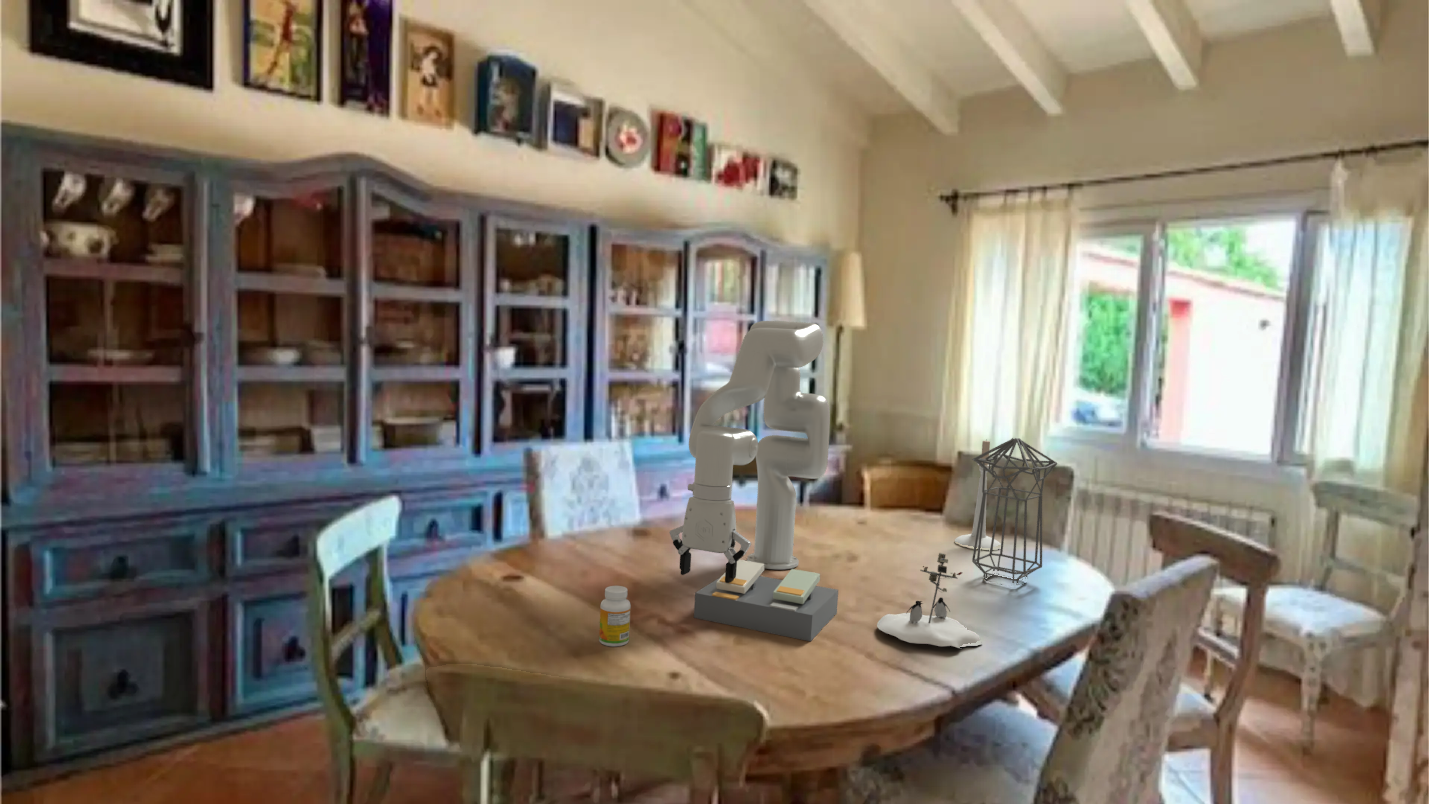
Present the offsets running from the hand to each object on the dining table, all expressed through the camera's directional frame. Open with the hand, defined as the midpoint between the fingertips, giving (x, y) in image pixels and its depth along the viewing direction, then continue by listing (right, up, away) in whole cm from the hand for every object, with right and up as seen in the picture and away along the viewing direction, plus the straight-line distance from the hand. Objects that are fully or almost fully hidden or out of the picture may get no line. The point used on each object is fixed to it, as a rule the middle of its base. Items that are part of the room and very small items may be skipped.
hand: (707, 577), depth 170 cm
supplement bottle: (-17, -8, -17) cm, 25 cm away
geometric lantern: (+71, -8, +33) cm, 79 cm away
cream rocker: (+7, -1, +3) cm, 8 cm away
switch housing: (+12, -8, +1) cm, 14 cm away
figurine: (+43, -11, -6) cm, 44 cm away
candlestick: (+76, -5, +69) cm, 103 cm away
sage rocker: (+18, -2, -2) cm, 18 cm away
